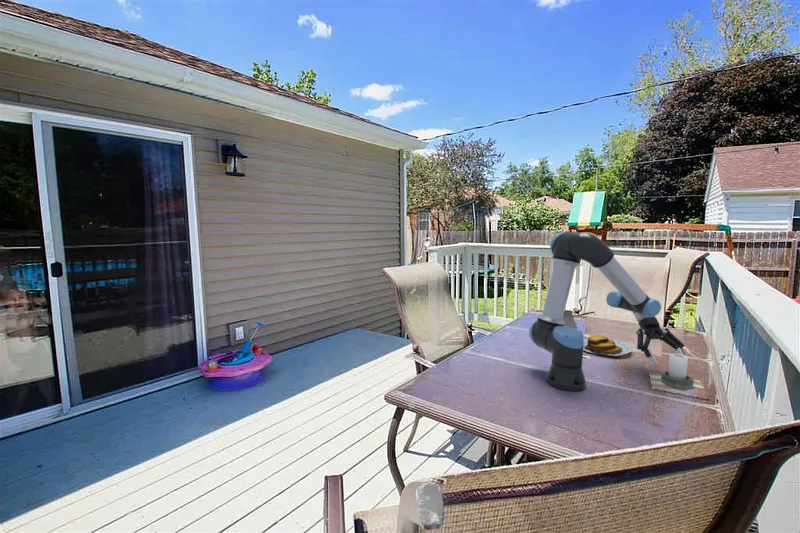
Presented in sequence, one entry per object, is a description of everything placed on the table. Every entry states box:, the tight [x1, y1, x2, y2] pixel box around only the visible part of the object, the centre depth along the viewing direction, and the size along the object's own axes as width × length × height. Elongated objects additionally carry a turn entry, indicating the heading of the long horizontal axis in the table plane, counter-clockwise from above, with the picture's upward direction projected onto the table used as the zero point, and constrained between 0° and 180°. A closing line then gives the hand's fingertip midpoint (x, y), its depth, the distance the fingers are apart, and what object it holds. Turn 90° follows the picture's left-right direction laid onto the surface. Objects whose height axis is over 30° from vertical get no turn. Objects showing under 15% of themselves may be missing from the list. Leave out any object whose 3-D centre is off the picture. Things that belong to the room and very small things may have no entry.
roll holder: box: [648, 370, 705, 393], centre depth 151 cm, size 18×18×4 cm
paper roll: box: [667, 352, 689, 380], centre depth 151 cm, size 6×6×12 cm
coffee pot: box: [562, 309, 596, 330], centre depth 226 cm, size 21×12×15 cm, turn 49°
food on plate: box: [583, 335, 633, 359], centre depth 195 cm, size 25×25×7 cm
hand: (669, 363), depth 155 cm, fingers open, 13 cm apart
